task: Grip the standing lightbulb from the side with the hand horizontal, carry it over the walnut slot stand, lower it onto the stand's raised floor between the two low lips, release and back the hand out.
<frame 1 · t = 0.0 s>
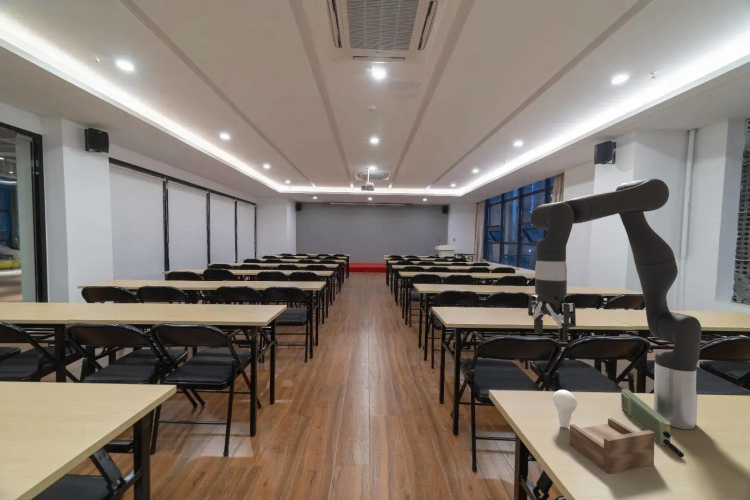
hand: (549, 337, 87), 29 cm above the table, tool pointing down, fingers open, 8 cm apart
slot stand: (607, 452, 83), on the table
lightbulb: (564, 428, 95), on the table
handheld radio: (649, 431, 93), on the table
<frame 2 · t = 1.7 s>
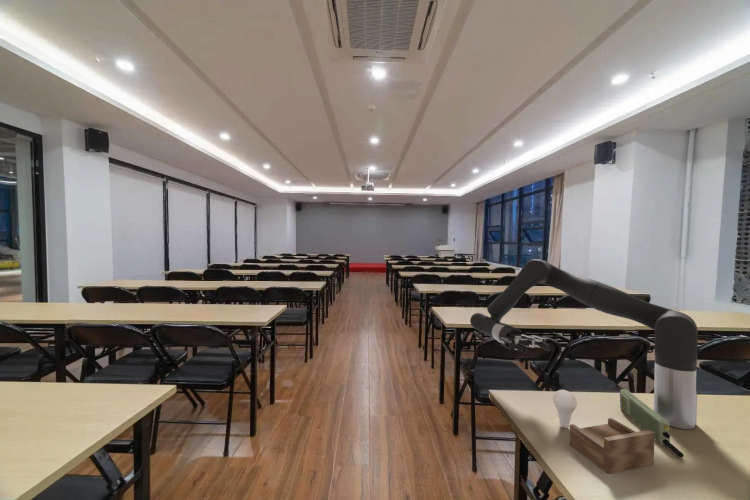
hand: (537, 349, 105), 20 cm above the table, tool horizontal, fingers open, 8 cm apart
nothing on the table moved.
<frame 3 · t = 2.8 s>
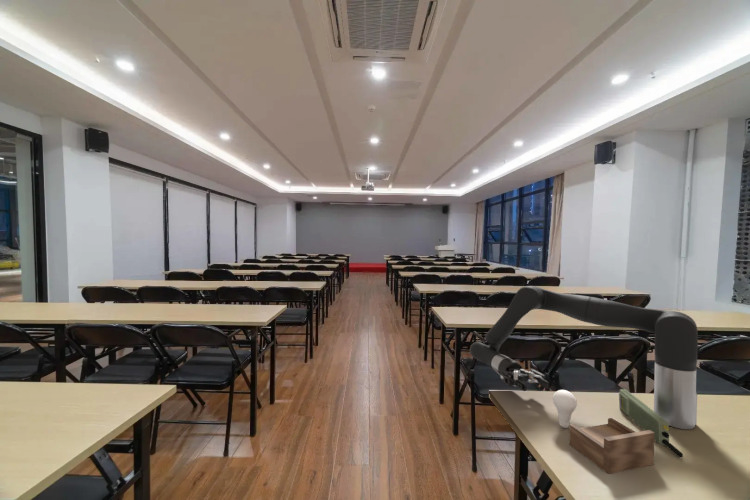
hand: (536, 386, 105), 7 cm above the table, tool horizontal, fingers open, 8 cm apart
nothing on the table moved.
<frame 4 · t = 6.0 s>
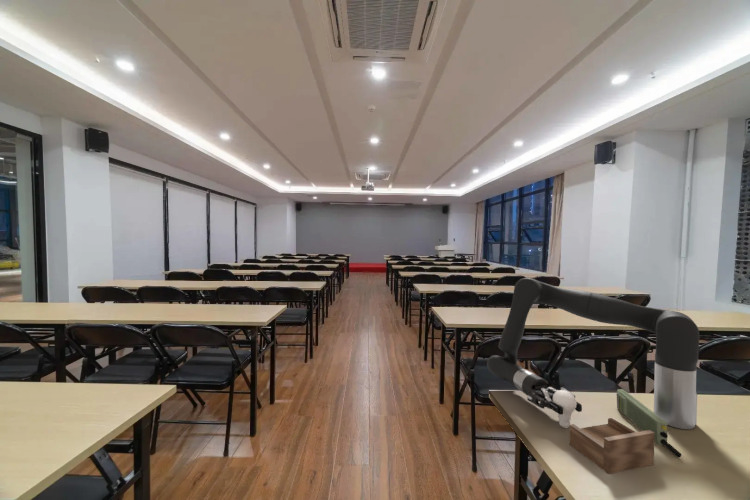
hand: (571, 409, 92), 7 cm above the table, tool horizontal, fingers closed on lightbulb, 6 cm apart
lightbulb: (564, 427, 95), on the table, touching gripper
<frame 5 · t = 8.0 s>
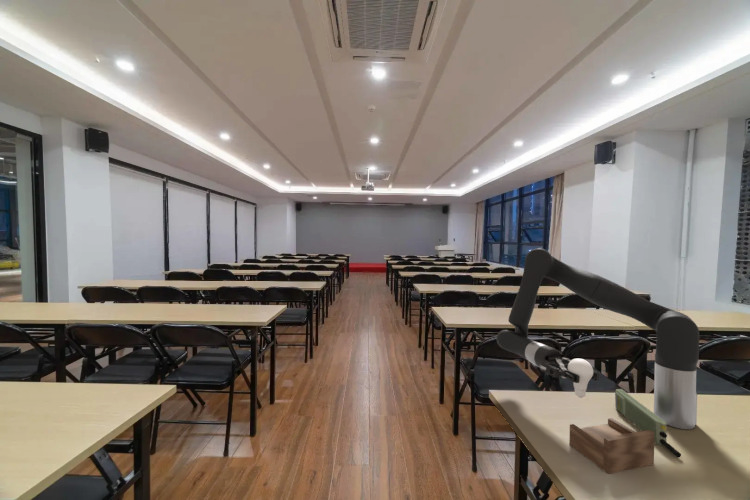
hand: (588, 378, 88), 18 cm above the table, tool horizontal, fingers closed on lightbulb, 6 cm apart
lightbulb: (580, 398, 90), point 11 cm above the table, touching gripper
when the fingers open (11 cm above the table, at t = 10.2 s): lightbulb stays where it is, resting on slot stand.
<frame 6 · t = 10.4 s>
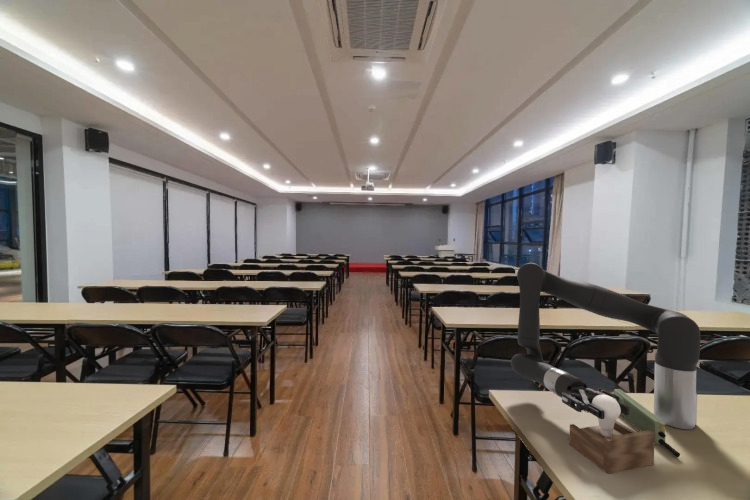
hand: (616, 413, 81), 11 cm above the table, tool horizontal, fingers open, 7 cm apart
lightbulb: (606, 437, 83), point 4 cm above the table, touching slot stand
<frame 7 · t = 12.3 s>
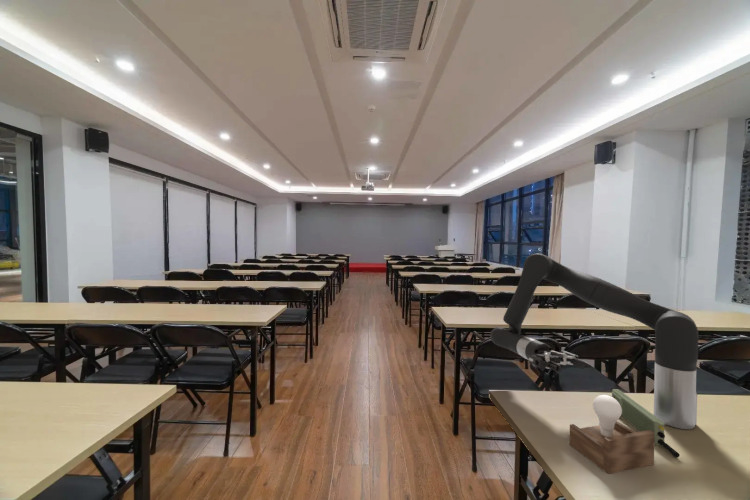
hand: (572, 367, 96), 17 cm above the table, tool horizontal, fingers open, 8 cm apart
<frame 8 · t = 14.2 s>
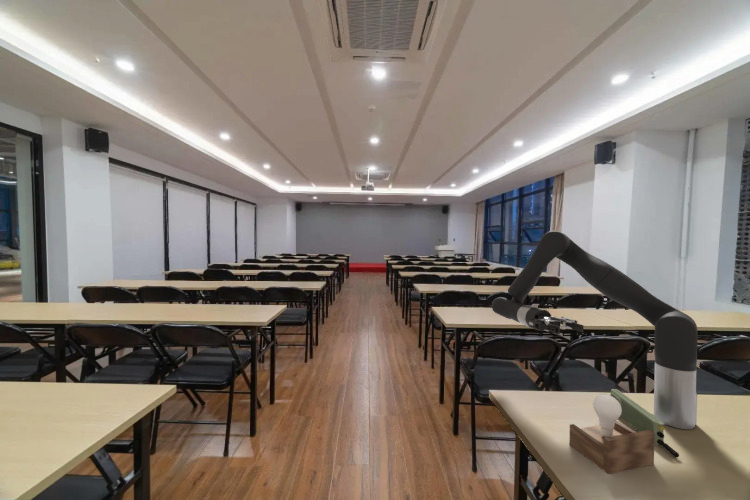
hand: (571, 329, 98), 28 cm above the table, tool horizontal, fingers open, 8 cm apart
at the end: lightbulb inside the target area on the slot stand (0.3 cm from its centre), point 3.8 cm above the slot stand's base; lightbulb tilted 2°; the gripper is holding nothing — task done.
